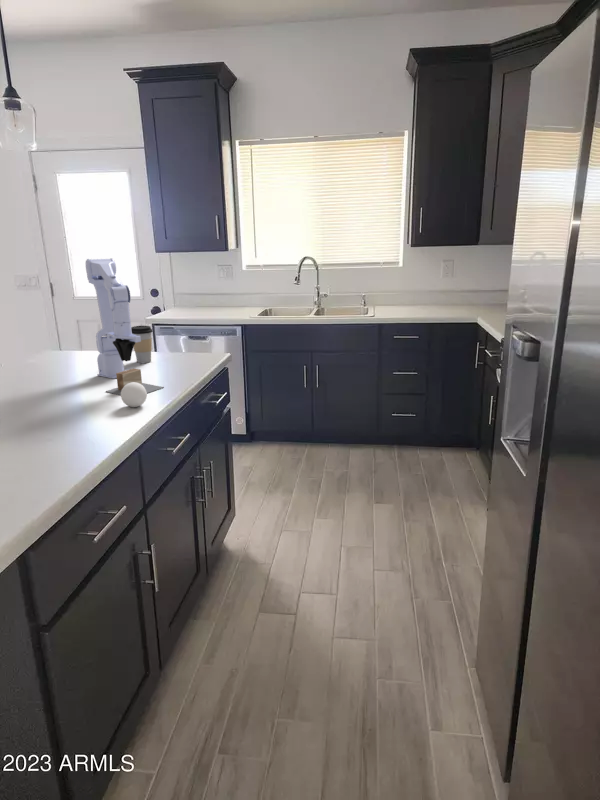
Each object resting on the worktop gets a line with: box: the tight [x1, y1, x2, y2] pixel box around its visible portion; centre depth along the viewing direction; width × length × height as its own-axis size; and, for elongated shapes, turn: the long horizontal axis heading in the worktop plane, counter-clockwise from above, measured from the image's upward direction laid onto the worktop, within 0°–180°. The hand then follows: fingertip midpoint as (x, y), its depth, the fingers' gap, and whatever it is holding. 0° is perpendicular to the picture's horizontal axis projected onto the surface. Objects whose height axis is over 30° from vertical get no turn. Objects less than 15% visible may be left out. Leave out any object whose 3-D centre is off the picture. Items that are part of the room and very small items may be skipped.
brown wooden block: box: [116, 368, 143, 390], centre depth 186 cm, size 4×8×6 cm, turn 150°
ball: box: [120, 382, 148, 408], centre depth 167 cm, size 8×8×8 cm
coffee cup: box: [131, 325, 153, 364], centre depth 223 cm, size 9×9×15 cm
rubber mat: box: [105, 382, 165, 396], centre depth 185 cm, size 14×14×1 cm
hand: (126, 360), depth 184 cm, fingers closed
